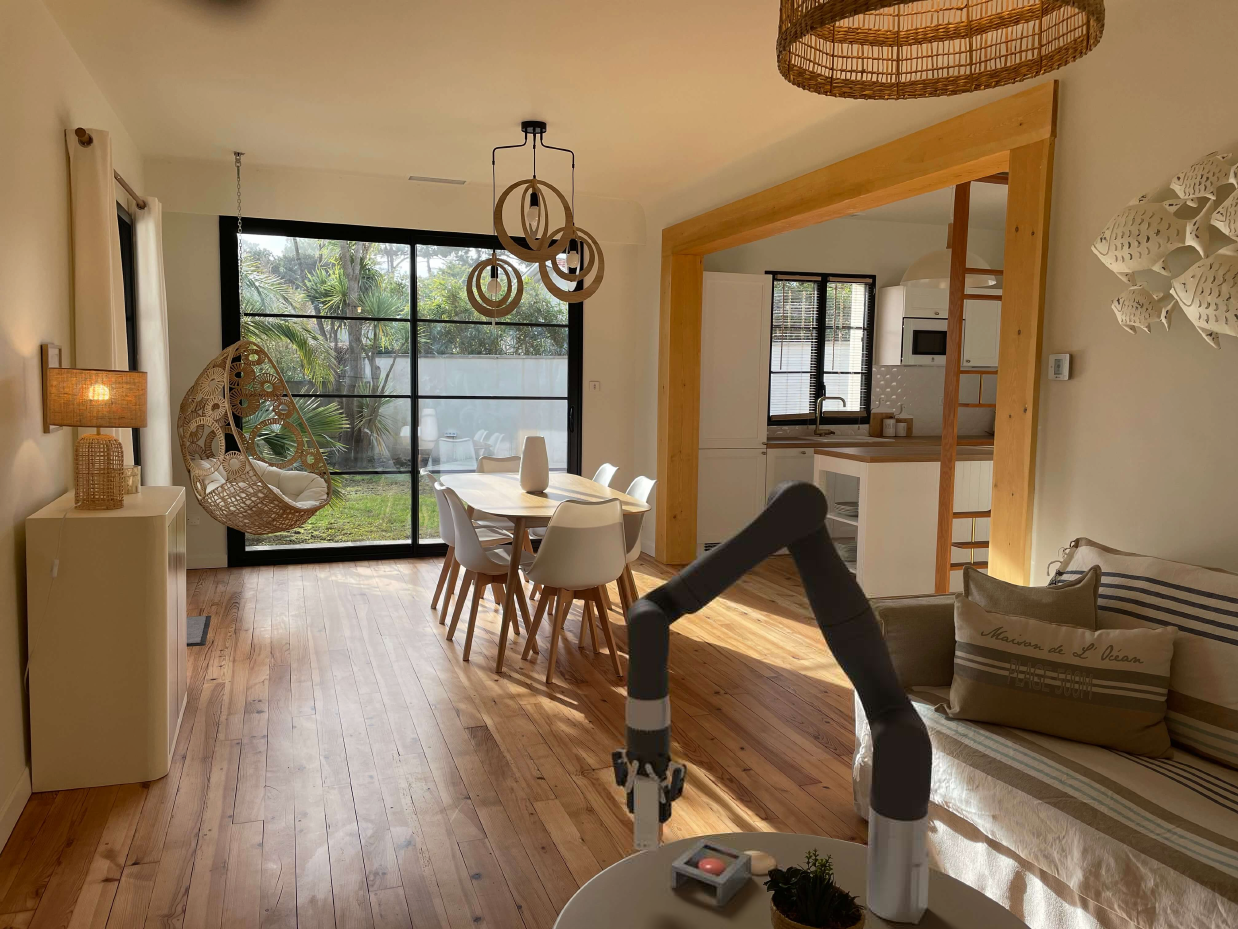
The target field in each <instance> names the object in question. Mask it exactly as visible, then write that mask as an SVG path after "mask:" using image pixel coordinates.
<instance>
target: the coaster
mask: <svg viewBox="0 0 1238 929" xmlns="http://www.w3.org/2000/svg"><path fill="white" fill-rule="evenodd" d="M742 852H743V851H742ZM743 853H746V854H749V855H752V858H751V875H755V876H761V875H768V874H769V873H768V870H769V869H772V868H775V869H776V867H777V866H776V860H775V858H774V857H773V856H772V855H770V854H769V853H766V852H763V851H759V850H758V851H757V850H747V851H744V852H743Z"/></svg>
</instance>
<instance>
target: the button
mask: <svg viewBox="0 0 1238 929" xmlns="http://www.w3.org/2000/svg"><path fill="white" fill-rule="evenodd" d="M696 869H699V870H701V871H704V872H707V873H710V874H712V875H715V876H718V877H719V876H720V875H721V874H722V873H723V872H724V871H725V870H726V869H727V868H726V865H725V863H724V862H723V861H721V860H720V859H717V858H710V857H709V858H707V859H704V860H701V861H700V862H699V865H698V866H697V867H696Z"/></svg>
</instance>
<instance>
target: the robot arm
mask: <svg viewBox="0 0 1238 929" xmlns="http://www.w3.org/2000/svg"><path fill="white" fill-rule="evenodd" d="M828 504H829V503H828V500H827V497H826V496H825V494H824V492H823V491H822V490H821V489H820V488H819V487H817V486H816V485H815V484H813V483H811V482H808V481H805V480H798V479H797V480H794V479H793V480H791V479H790V480H786V481H785V480H784V481H782V482H780V483H778V484H777V485H776V486H774V488H773V489H772V490H771V491H770V493H769V495H768V497H767V502H766V507H765V508H764V509H763V510H762V511H761V512H760V513H759V514H758V515H757V516H756V517H755V518H754V519H753V520H752V521H751V522H749V523H748V524H747V525H746V526H745V527H743V528H742V529H741V530H739V531H738V532H736V533H735V534H734V535H732V536H730V537H729V538H727V539H725V540H724V541H722V542H721V543H719V544H718V545H716V546H714V547H712V548H711V549H708V551H706V552H705V553H702V555H700V556H699V557H698V558H696V559H695V560H693V561H692V562H691V563H689V564H688V565H687V566H685V567H684V568H683V569H681V570H680V571H679V572H678V573H676V574H675V575H674V576H672V578H670V579H669V581H667V582H664V583H663V584H661V585H659V586H658V587H656V588H654V589H652V590H650V591H649V592H647V593H645V594H644V595H643V596H641V597H640V598H639V599H637V600H636V601H635V602H634V603H633V604H632V605H631V606H630V607H629V608H628V610H627V611H626V615H625V626H626V635H627V650H628V651H627V652H628V653H627V654H628V664H627V669H626V701H625V745H626V749H625V748H624V747H622V746H621V747H619V748H617V749H615V750H613V751H612V752H611V760H612V767H613V772H614V778H615V784H616V786H617V787H622V788H624V791H625V793H626V808H627V810H628V813H629V814H632V815H634V780H635V777H636V775H641V776H645V777H648V778H650V779H651V780H653V781H656V782H658V789H659V799H660V802H659V822H660V823H663V825H664V824H665V823H667V822H668V821H669V819H672V814H673V813H672V811H673V810H672V808H673V805H672V803H674V802H676V801H677V800H678V799H679V798H681V797H682V796H683V791H684V786H685V785H684V784H685V780H686V776H687V770H688V769H687V768H688V767H687V764H685V763H681V764H678V763H676V762H674V761H673V760H672V757H671V755H670V749H671V703H670V702H671V701H670V694H669V692H670V691H669V689H670V688H669V686H670V684H669V681H670V680H669V676H670V674H669V666H668V663H669V656H670V655H669V654H670V641H671V640H670V636H671V634H670V632H671V631H670V626H671V625H673V624H674V623H675V622H677V621H678V620H680V619H681V618H683V617H684V616H686V615H694V614H696V613H697V612H700V610H703V609H704V607H706V606H707V605H709V604H710V603H711V602H713V601H714V600H715V599H717V598H718V597H719V596H720V595H721V594H723V593H724V592H725V591H726V590H728V589H729V588H730V587H731V586H733V585H734V584H735V583H737V582H738V581H739V580H740V579H741V578H743V577H744V576H746V574H748V573H749V572H750V571H751V570H753V569H754V568H755V567H756V566H758V565H760V564H761V563H763V562H764V561H765V560H767V559H769V558H770V557H771V556H773V555H774V554H776V553H778V552H779V551H781V550H783V549H785V548H786V549H787V552H788V553H789V554H790V557H791V558H792V561H793V562H794V565H795V567H796V569H797V571H798V573H799V577H800V580H801V583H802V586H803V590H804V592H805V596H806V597H807V601H808V603H809V605H810V608H811V611H812V613H813V615H814V618H815V620H816V623H817V625H818V627H819V630H820V632H821V635H822V636H823V640H824V641H825V643H826V645H827V647H828V649H829V651H830V653H831V655H832V656H833V658H834V659H835V661H836V663H837V664H838V666H839V667H840V669H841V670H842V672H843V673H844V674H845V675H846V677H847V678H848V680H849V681H850V682H851V684H852V685H853V688H854V689H855V692H856V693H857V695H858V697H859V700H860V703H861V705H862V709H863V711H864V714H865V715H864V716H865V717H866V721H867V725H868V727H869V731H870V737H871V744H872V755H871V756H872V757H871V758H872V761H871V762H872V764H871V784H870V789H869V808H868V810H869V811H868V813H869V814H868V835H867V836H868V838H867V863H866V864H867V865H866V867H867V868H866V889H865V890H866V891H865V892H866V894H865V896H866V900H865V901H866V902H865V903H866V906H867V908H868V909H869V910H870V911H871V912H872V913H874V914H875V915H876V916H878V917H880V918H882V919H884V920H888V921H891V922H897V923H912V924H914V925H918V924H919V922H920V920H921V918H922V917H923V915H924V914H925V912H926V910H927V909H928V900H929V899H928V898H929V896H928V895H929V875H930V873H929V872H930V853H929V852H927V836H928V835H927V833H928V812H929V811H928V810H929V803H930V799H931V792H932V791H931V789H932V776H933V774H932V773H933V745H932V740H931V737H930V734H929V732H928V728H927V725H926V723H925V721H924V720H923V718H922V717H921V715H920V714H919V712H918V710H917V709H916V707H915V706H914V703H913V702H912V700H911V699H910V697H909V695H908V693H907V692H906V690H905V688H904V687H903V685H902V683H901V680H900V679H899V677H898V674H897V673H896V670H895V667H894V665H893V664H894V663H893V661H892V657H891V654H890V650H889V648H888V647H889V646H888V645H887V642H886V638H885V635H884V634H883V631H882V628H881V625H880V623H879V621H878V619H877V616H876V615H875V612H874V610H873V608H872V606H871V603H870V601H869V599H868V597H867V596H866V594H865V592H864V590H863V589H862V587H861V585H860V584H859V583H858V580H857V579H856V578H855V576H854V574H853V573H852V572H851V570H850V569H849V568H848V566H847V564H846V563H845V561H844V560H843V559H842V557H841V555H840V553H839V552H838V550H837V548H836V546H835V545H834V542H833V540H832V538H831V536H830V532H829V529H828V527H827V524H826V519H827V516H828V512H829V510H828V509H829V508H828V507H829V506H828ZM628 763H629V765H630V770H629V768H628ZM668 770H669V773H670V775H669V773H668ZM660 778H661V781H660V782H659V779H660ZM670 778H671V779H670Z"/></svg>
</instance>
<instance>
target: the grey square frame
mask: <svg viewBox="0 0 1238 929" xmlns="http://www.w3.org/2000/svg"><path fill="white" fill-rule="evenodd" d="M708 851H710V852H711V851H712V852H715V853H717V854H720V855H722V856H726V857H728V858H731V859H734V861H733V862H732V863H731V864H730V865H729V866H728V867H727V868H726V870H725V871H724V872H723V873H722V874H721V875H720V876H719V877H718V876H715V875H712V874H710V873H707V872H704V871H701V870H699V869H696V867H697V866H698V865H699V862H700V861H701V860H704V859H708V858H707V857H708V856H707V854H708ZM751 858H752V855H749V854H746V853H743V851H739V850H737V849H734V848H731V847H728V846H725V845H723V844H719V843H717V842H714V841H710V840H708V839H705V838H701V839H700V840H698V842H696V843H695V844H694V845H692V846H691V847H690V848H689V849H688V850H687V851H685V852H684V853H683V854H682V855H681V856H680V857H678V858H677V859H676V860H675V861H674V862H672V864H670V888H672V889H677V888H678V887H679V886H681V885H682V884H683V883H684V882H685V881H687V879H689V878H690V877H691V878H694V879H696V880H699V881H702V882H704V883H706V884H710V885H712V886H715V887H716V905H717V906H719V907H723V906H724V905H725V904H726V903H727V902H728V901H729V900H730V899H731V898H732V897H733V896H734V895H735V894H736V893H737V892H738V891H739V890H740V889H741V888H742V887H743V886H744V885H745V884H746V883H747V881H748V880H750V879H751V877H752V874H751Z"/></svg>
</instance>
